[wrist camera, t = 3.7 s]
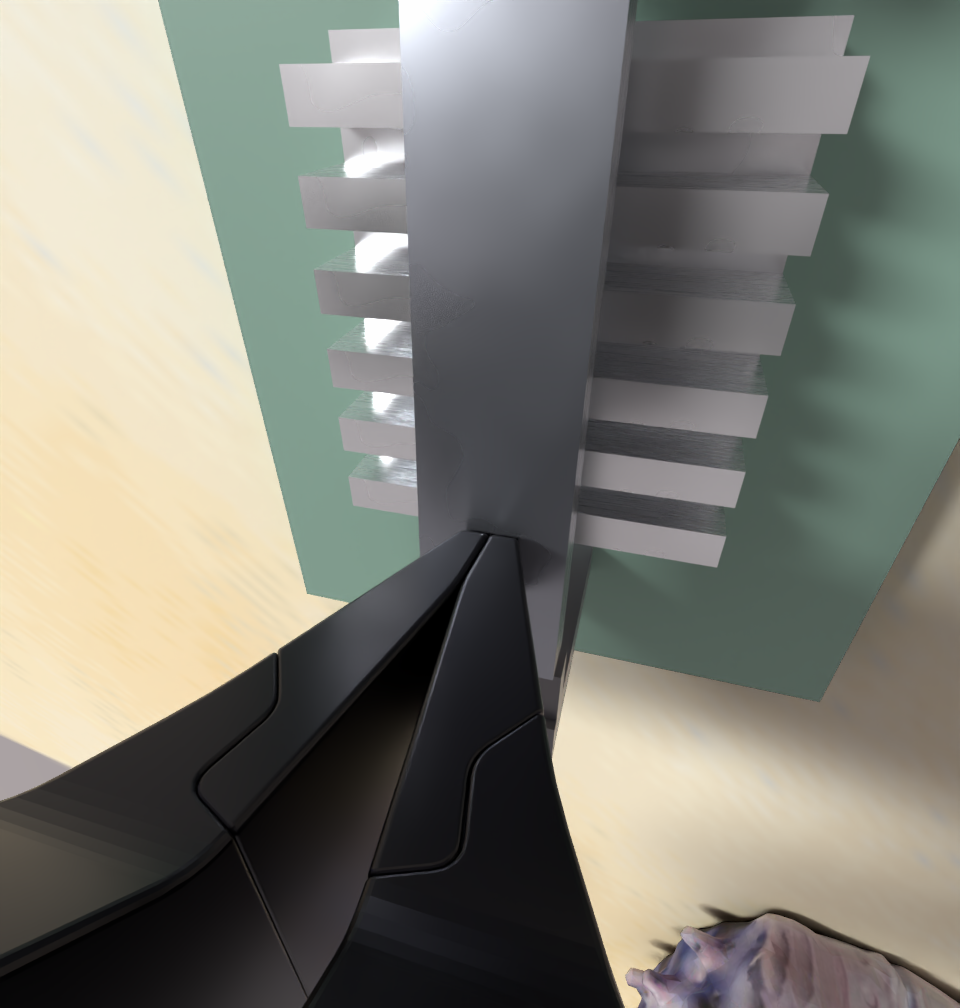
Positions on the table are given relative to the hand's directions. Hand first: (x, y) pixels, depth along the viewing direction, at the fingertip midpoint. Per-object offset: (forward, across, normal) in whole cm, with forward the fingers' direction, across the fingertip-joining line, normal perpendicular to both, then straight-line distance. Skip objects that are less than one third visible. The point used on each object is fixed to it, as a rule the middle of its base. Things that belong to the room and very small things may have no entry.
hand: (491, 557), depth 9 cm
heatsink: (+5, 0, -2) cm, 6 cm away
